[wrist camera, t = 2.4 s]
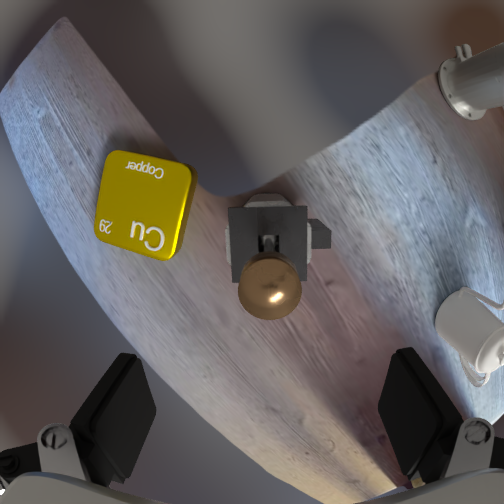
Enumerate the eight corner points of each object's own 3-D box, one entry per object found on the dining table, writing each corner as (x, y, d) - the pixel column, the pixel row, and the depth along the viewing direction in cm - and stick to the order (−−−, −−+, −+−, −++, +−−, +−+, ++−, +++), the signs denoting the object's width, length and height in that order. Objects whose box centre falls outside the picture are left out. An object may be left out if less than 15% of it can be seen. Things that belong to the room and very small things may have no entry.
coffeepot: (470, 246, 42) (535, 278, 24) (469, 346, 48) (511, 392, 30) (429, 264, 44) (492, 307, 26) (432, 365, 50) (470, 419, 31)
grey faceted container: (236, 193, 43) (221, 202, 28) (313, 192, 42) (335, 200, 28) (239, 252, 45) (227, 287, 31) (313, 250, 44) (333, 285, 30)
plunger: (237, 211, 31) (213, 241, 17) (298, 210, 31) (323, 239, 17) (240, 269, 33) (221, 336, 19) (298, 267, 32) (319, 334, 18)
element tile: (201, 167, 42) (194, 166, 38) (179, 257, 46) (170, 266, 42) (120, 149, 42) (105, 147, 37) (104, 233, 46) (90, 239, 41)
